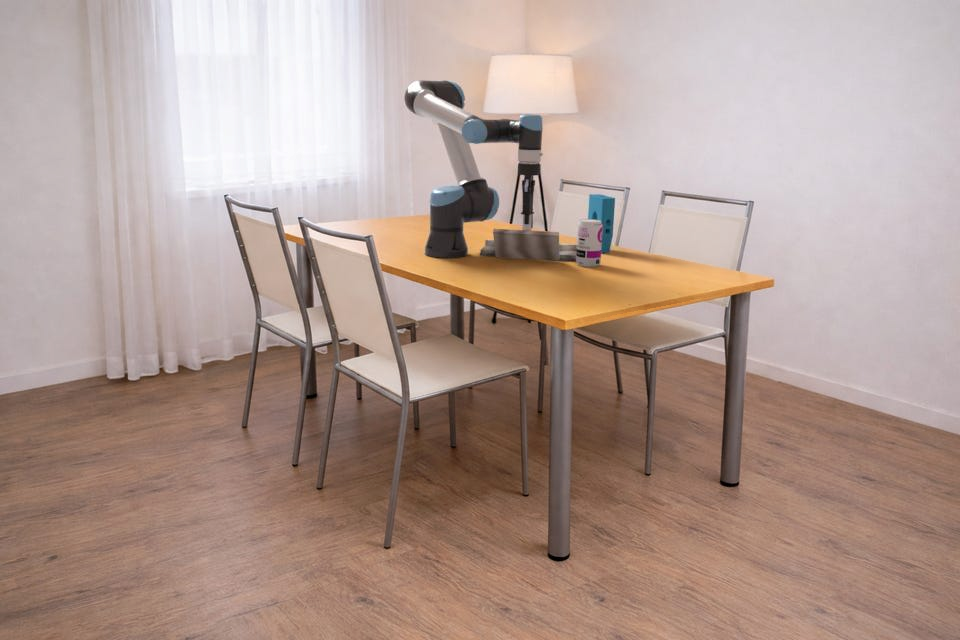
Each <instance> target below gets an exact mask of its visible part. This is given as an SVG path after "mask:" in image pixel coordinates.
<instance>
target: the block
mask: <svg viewBox="0 0 960 640" xmlns="http://www.w3.org/2000/svg"><path fill="white" fill-rule="evenodd" d="M588 195H589V196H588V209H587V211H588V213H587V215H588V216H587V219H594V220H600V221H601V223H602V225H603V231H602V247H601V254H608V253H610V250H611V248H612V247H611V246H612V241H613V236H614V224H615V223H614V222H615V221H614V220H615V207H616V206H615V205H616V198H615V197H612V196H609V195H605V194H602V193H601V194H600V193H597V194H593V193H592V194H590V193H589V194H588Z"/></svg>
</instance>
